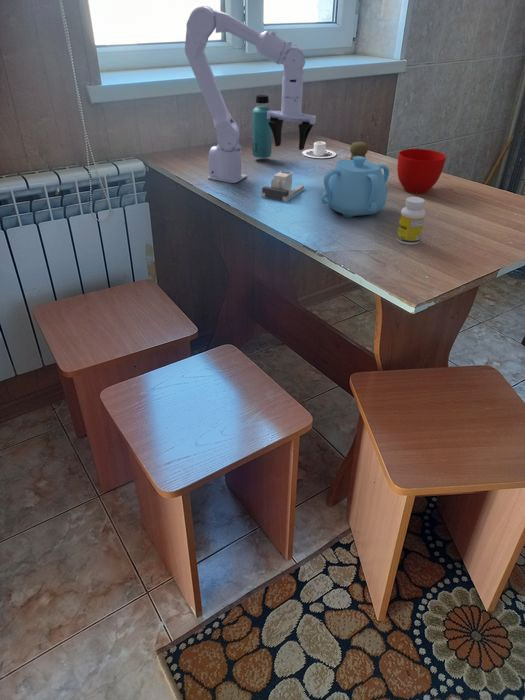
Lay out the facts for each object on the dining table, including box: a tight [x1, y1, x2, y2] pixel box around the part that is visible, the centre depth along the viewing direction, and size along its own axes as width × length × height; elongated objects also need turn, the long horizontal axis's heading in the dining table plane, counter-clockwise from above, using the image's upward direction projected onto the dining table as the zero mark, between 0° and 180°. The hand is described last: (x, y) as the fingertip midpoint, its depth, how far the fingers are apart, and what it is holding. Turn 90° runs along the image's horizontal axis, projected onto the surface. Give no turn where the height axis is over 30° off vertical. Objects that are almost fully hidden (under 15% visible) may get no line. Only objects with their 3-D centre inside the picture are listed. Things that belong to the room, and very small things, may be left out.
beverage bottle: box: [251, 94, 273, 159], centre depth 167 cm, size 6×7×20 cm
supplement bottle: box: [396, 196, 426, 246], centre depth 116 cm, size 5×5×10 cm
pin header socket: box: [260, 178, 305, 202], centre depth 144 cm, size 8×12×4 cm, turn 152°
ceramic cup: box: [396, 148, 447, 195], centre depth 148 cm, size 13×17×10 cm
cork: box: [349, 141, 369, 160], centre depth 153 cm, size 6×6×11 cm
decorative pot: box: [320, 156, 390, 219], centre depth 131 cm, size 16×16×14 cm
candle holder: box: [301, 141, 337, 159], centre depth 179 cm, size 12×12×4 cm
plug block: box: [273, 170, 293, 192], centre depth 144 cm, size 4×4×6 cm
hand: (289, 147), depth 150 cm, fingers open, 7 cm apart
